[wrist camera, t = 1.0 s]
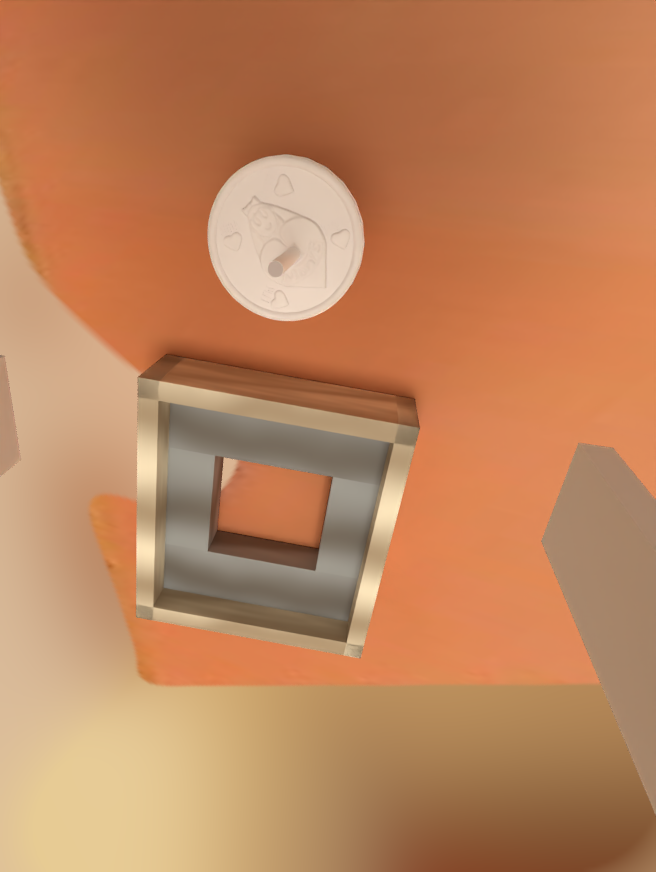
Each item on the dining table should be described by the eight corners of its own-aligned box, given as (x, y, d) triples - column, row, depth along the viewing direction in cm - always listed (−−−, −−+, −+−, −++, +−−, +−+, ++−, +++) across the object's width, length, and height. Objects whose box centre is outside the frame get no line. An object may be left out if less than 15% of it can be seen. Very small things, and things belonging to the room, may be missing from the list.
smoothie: (310, 307, 32) (266, 387, 20) (231, 224, 31) (128, 251, 18) (391, 228, 30) (402, 260, 17) (311, 134, 28) (258, 93, 16)
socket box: (166, 354, 34) (137, 377, 30) (414, 398, 34) (419, 427, 30) (159, 575, 42) (136, 617, 38) (362, 612, 42) (360, 658, 38)
